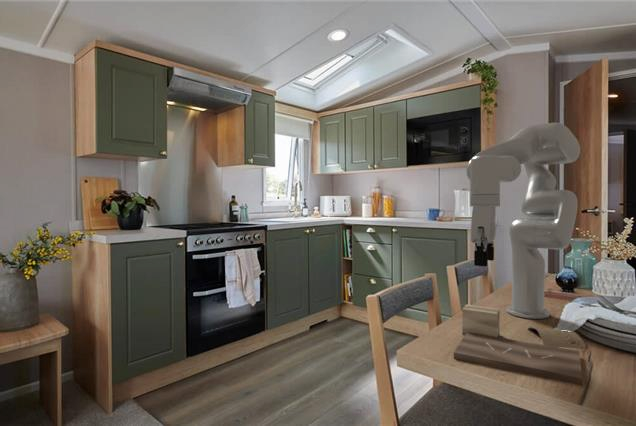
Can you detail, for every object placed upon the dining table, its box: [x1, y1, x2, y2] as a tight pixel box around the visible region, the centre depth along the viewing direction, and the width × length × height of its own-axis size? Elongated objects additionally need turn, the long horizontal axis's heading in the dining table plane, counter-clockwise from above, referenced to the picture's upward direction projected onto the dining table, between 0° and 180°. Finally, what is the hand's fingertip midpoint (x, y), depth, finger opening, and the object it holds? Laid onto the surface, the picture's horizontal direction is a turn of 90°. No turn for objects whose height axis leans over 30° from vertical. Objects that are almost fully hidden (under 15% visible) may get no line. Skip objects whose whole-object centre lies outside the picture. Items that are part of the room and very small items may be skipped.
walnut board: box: [453, 332, 583, 386], centre depth 95 cm, size 16×26×2 cm, turn 58°
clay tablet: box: [527, 326, 587, 350], centre depth 106 cm, size 14×10×3 cm
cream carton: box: [461, 304, 501, 337], centre depth 110 cm, size 5×9×8 cm, turn 58°
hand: (484, 262), depth 107 cm, fingers open, 9 cm apart
